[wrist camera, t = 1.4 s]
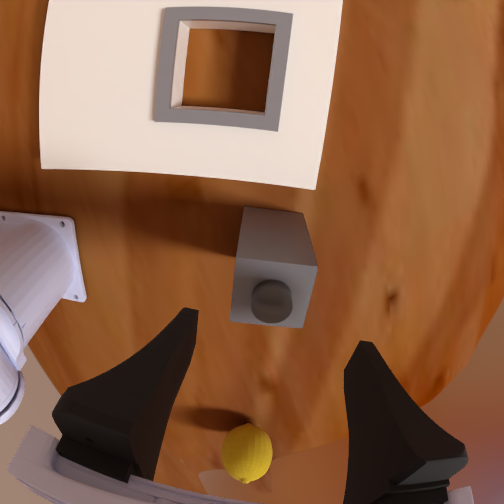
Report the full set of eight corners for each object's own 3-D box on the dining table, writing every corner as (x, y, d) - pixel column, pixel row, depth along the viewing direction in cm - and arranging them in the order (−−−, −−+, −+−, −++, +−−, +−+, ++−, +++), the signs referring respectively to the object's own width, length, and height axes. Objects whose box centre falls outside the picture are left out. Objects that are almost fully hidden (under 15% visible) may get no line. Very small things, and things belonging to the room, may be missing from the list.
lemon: (262, 407, 32) (261, 471, 25) (278, 430, 35) (279, 487, 28) (216, 415, 33) (209, 475, 26) (236, 436, 36) (231, 491, 29)
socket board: (60, 159, 20) (38, 170, 18) (70, -7, 14) (48, -15, 11) (309, 178, 21) (316, 191, 18) (335, -10, 14) (346, -24, 12)
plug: (238, 258, 24) (228, 333, 17) (244, 206, 22) (234, 268, 15) (293, 264, 24) (303, 340, 17) (303, 213, 22) (321, 277, 15)
